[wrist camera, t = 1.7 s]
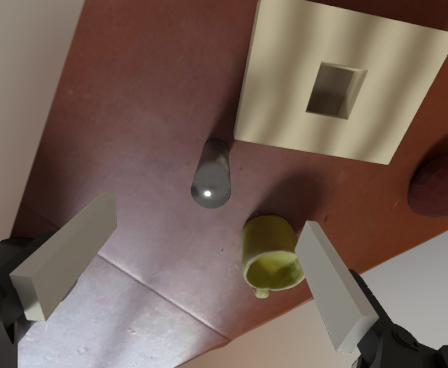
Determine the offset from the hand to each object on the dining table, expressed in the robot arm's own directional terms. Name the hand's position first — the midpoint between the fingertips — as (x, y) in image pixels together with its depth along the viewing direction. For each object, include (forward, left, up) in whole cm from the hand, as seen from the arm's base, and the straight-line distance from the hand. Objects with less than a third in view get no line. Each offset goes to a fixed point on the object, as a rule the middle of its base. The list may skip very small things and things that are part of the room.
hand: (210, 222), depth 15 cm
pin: (0, 0, -17) cm, 17 cm away
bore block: (+12, +10, -17) cm, 23 cm away
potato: (+32, +1, -17) cm, 36 cm away
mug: (+10, -15, -17) cm, 25 cm away
